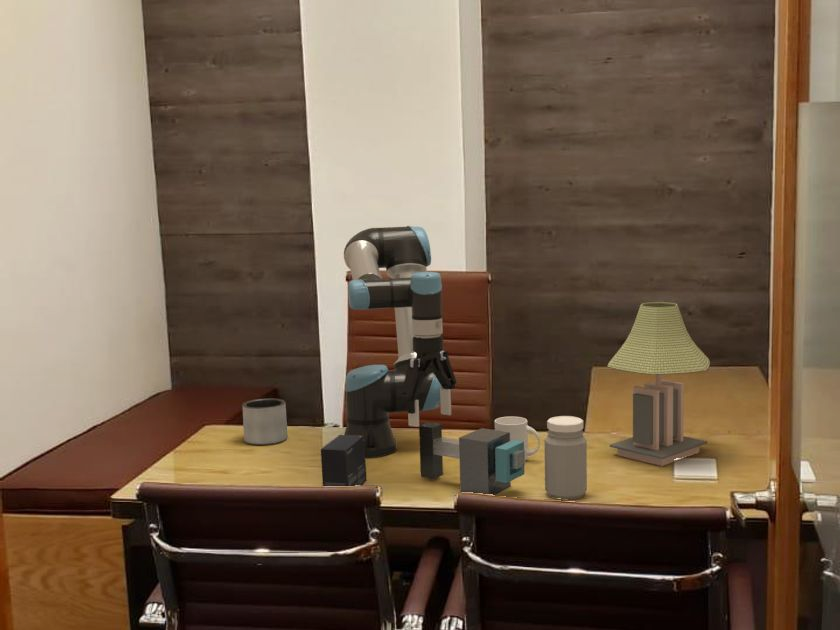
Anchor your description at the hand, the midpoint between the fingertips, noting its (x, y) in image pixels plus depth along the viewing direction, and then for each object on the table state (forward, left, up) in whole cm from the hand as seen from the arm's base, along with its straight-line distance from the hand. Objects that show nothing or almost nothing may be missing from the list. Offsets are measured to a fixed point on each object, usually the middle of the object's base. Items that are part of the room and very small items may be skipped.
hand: (430, 420), depth 254 cm
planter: (-63, +5, -16) cm, 65 cm away
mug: (+10, +25, -16) cm, 31 cm away
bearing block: (+16, 0, -15) cm, 22 cm away
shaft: (+12, 0, -15) cm, 19 cm away
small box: (-14, -17, -16) cm, 27 cm away
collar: (+23, 0, -7) cm, 24 cm away
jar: (+34, +7, -16) cm, 38 cm away
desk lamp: (+39, +49, -16) cm, 65 cm away
